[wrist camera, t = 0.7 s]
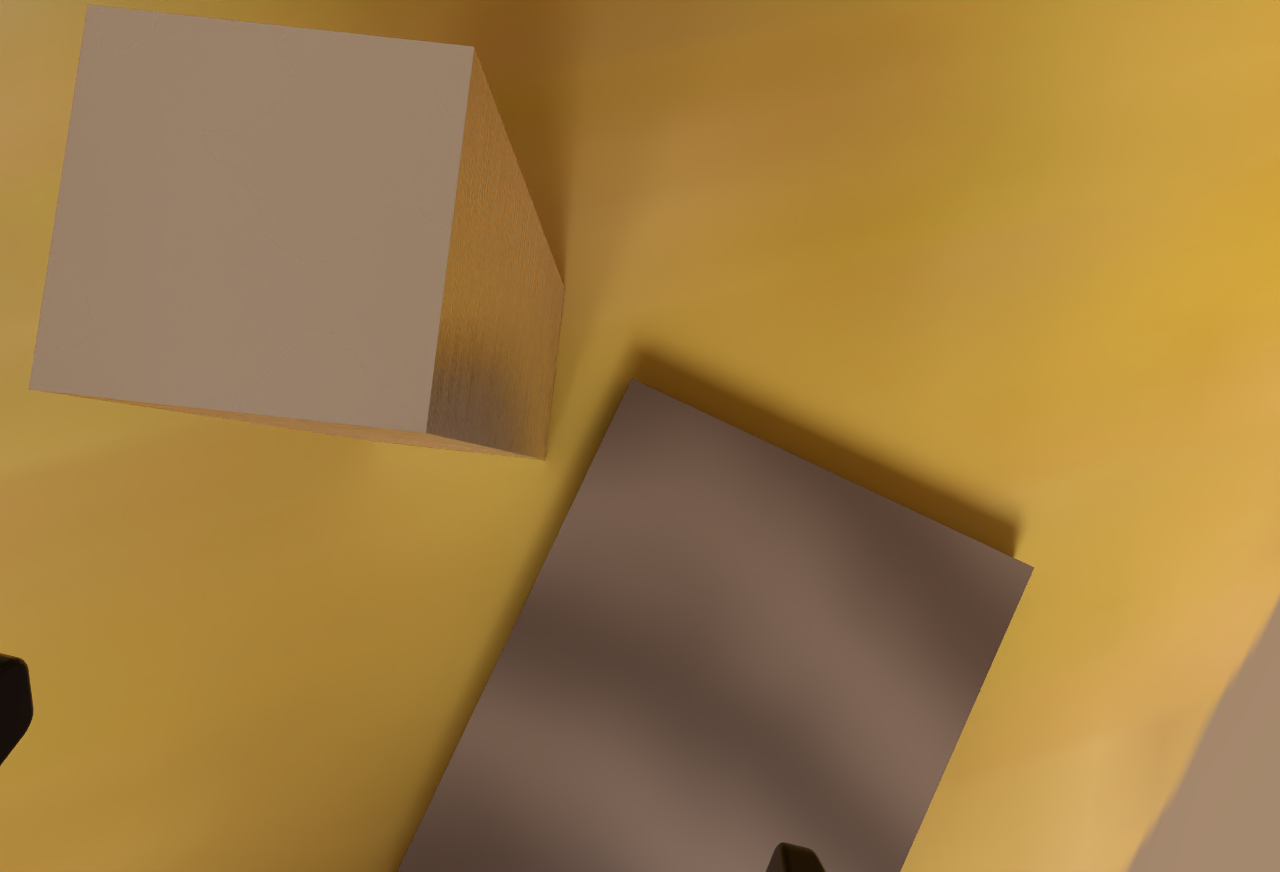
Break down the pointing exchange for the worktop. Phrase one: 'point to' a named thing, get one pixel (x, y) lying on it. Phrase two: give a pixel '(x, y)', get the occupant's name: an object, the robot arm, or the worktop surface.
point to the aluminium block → (298, 237)
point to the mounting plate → (721, 668)
